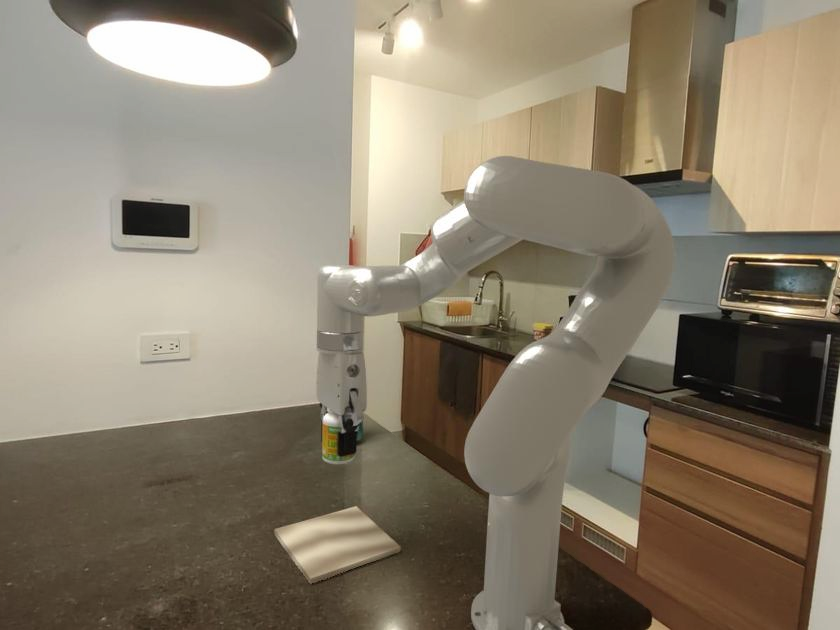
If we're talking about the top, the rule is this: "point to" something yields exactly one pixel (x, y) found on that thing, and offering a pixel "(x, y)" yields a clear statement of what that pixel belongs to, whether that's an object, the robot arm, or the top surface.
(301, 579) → the top surface
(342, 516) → the birch board
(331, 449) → the supplement bottle
